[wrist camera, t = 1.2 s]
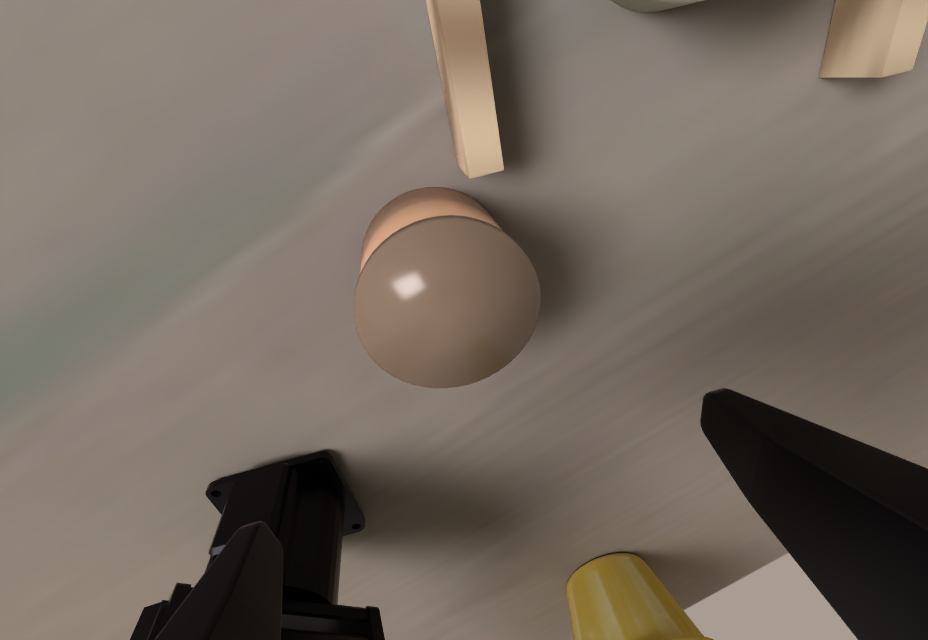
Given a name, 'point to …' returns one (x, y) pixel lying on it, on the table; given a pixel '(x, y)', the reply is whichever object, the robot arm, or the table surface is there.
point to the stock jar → (652, 4)
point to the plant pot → (624, 603)
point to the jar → (443, 291)
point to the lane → (471, 95)
